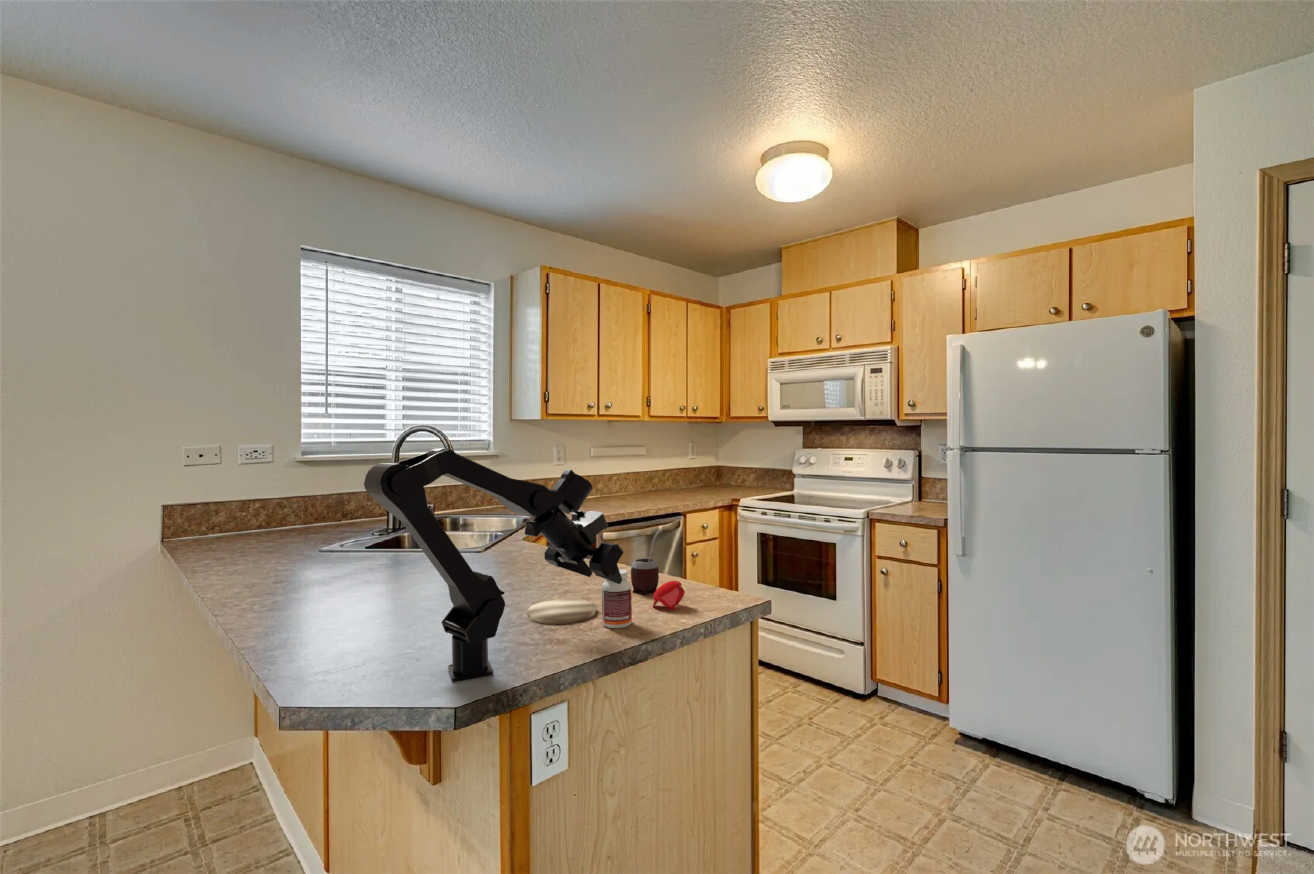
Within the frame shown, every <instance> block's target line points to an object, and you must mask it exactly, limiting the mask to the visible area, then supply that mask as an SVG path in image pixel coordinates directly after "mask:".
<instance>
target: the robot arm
mask: <svg viewBox="0 0 1314 874" xmlns="http://www.w3.org/2000/svg"><path fill="white" fill-rule="evenodd" d="M442 476H443V477H447V478H449V479H451V480H454V481H456V482H458V483H461V484H463V485H466V486H468V487H470V488H473V489H475V490H477V491H479V492H482V493H485V494H487V495H489V496H492V497H494V498H495V499H496V501H498V502H499V503H500V504H501V505H502V506H504V507H505V508H507V509H508V510H510V511H511V512H513V513H514V514H518V515H524V516H532V519H531V520H526V521H525V528H524V535H525V536H530V537H535V538H536V537H537V538H538V536H539V535H541V536H542V537H544V539H545V540H547V542H548V544H547V546H548V547H547V548H546V549H545V551H544V554H543V555H544V560H545V561H546V562H547V563H548V564H549V565H552V566H555V567H557V568H561V569H562V570H567V571H569V572H573V573H576V574H579V575H581V576H585V577H588V578H591V577H592V575H593V574H594V575H595V576H597V577H599V578H600V579H604V580H609V581H612V582H614V583H617V584H620V583H621V582H622V577H621V574H620V571H619V569H620V568H619V567H618V562H619V560H620V559H621V558H622V557H623V554H624V549H623V548H622V547H621V546H620V544H618V543H614V542H601V543H600V544H599V545H598V547H596V546H592V545H594V544H595V543H596V541H597V537H595V536H597V535H598V534H600V533H601V532H602V531H604V530H606V529H608V527H609V524H608V523H607V520H606V517H605V515H604V512H602V511H597V510H596V511H595V510H591V511H585V512H584V511H583V510H580V509H581V507H582V506H583V504H584V502H585V501H586V500H587V498H588V497H589V496H590V494H591V492H592V491H593V489H594V488H593V487H594V486H593V485H592V483H591V482H590V481H589V480H588V479H586V478H584V477H583V476H581V475H579V474H578V473H575V472H574V471H573V469H565V470H564V471H563V472H562V474H561V475H560V477H559V479H558V480H557V481H556V483H555V484H554V485H553V487H552V488H551V489H550V488H548V487H547V486H545V484H544V485H543V484H540V483H536V482H532V481H526V480H521V479H516V478H512V477H509V476H507V475H504V474H502V473H500V472H499V471H496V470H493V469H491V468H489V467H487V466H484V465H482V464H481V463H478V462H476V461H474V460H471V459H470V458H467V457H465V456H464V455H463V456H462V455H460V454H458V453H457V452H455V451H454V450H453V449H451V448H439V447H438V448H432V449H430V450H428V451H426V452H423V453H422V454H418V455H415V456H412V457H409V458H406V459H402V460H399V461H397V462H395V463H393V462H392V463H391V462H389V463H388V462H383V463H377V464H375V465H373V466H372V467H371V468H370V469H369V470H368V471H367V472H366V475H365V479H364V482H363V486H364V489H365V491H366V493H367V495H369V497H370V498H372V499H373V500H375V502H376V503H377V504H378V505H380V506H381V507H382V508H383V509H385V510H386V511H387V512H389V513H390V514H391V515H393V517H395V518H397V520H399V521H400V522H401V523H402V524H403V526H404V527H405V529H406V530H407V531H408V533H409V534H410V536H411V537H412V538H413V540H414V541H415V543H416V544H417V545H418V547H419V548H420V549H421V550H422V552H423V553H424V554H425V556H426V558H427V559H428V560H429V561H430V563H431V564H432V566H433V567H434V568H435V570H436V571H437V572H438V573H439V575H440V577H441V578H442V579H443V580H444V582H445V583H446V585H447V587H448V591H449V594H448V595H449V599H450V602H451V604H452V607H451V609H450V610H449V612H448V613H447V614H446V616H445V617H444V618H443V619H442V621H441V625H442V629H443V631H444V632H445V633H446V634H450V635H451V648H452V649H451V650H452V652H451V655H452V656H451V658H452V659H451V661H452V663H450V664H448V666H447V669H448V672H449V675H450V679H451V681H453V682H454V681H462V680H467V679H473V678H478V677H484V676H489V675H493V674H494V669H493V667H492V664H491V663H490V661H489V641H488V640H489V639H492V638H494V637H496V635H497V631H498V628H499V624H500V621H501V618H502V617H503V613H504V610H505V607H506V601H505V599H504V596H503V595H505V591H503V590H501V588H499V586H498V584H497V582H496V580H495V578H494V577H493V576H492V575H490V574H487V573H483V572H480V571H479V572H478V571H475V570H474V571H473V569H472V567H470V565H469V563H468V562H467V561H466V559H465V558H464V556H463V555H462V553H461V552H460V551H459V549H458V548H457V547H456V545H455V544H454V542H453V541H452V539H451V537H450V536H449V535H448V533H447V532H446V530H445V529H444V528H443V527H442V525H441V523H440V521H439V520H438V519H437V518H436V517H435V515H434V514H433V511H431V509H430V507H429V505H428V498H427V493H426V490H425V487H426V486H428V485H430V484H432V483H434V482H435V481H437V480H438V479H440V478H441V477H442ZM567 514H569V515H570V514H571V519H570V518H569V517H568V515H567ZM585 559H587V560H589V561H588V564H587V562H586V561H585Z"/></svg>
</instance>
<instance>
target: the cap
mask: <svg viewBox="0 0 1314 874" xmlns="http://www.w3.org/2000/svg"><path fill="white" fill-rule="evenodd" d="M685 593H686V591H685V589H684V587H683V586H682V582H681V581H679V580H670V581H667V582H664V583H663V584H662V585H660V586H659V587H657V590H656V591H655V593H653V604H652V608H654V607H655V606H656V605H657V603H658V602H659V603H661V604H662V605H663V606H664V607H667V609H669V611H675V610H676V606H679V604H680V602H681V600H682V599H683V597H684V596H685Z"/></svg>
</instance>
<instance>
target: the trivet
mask: <svg viewBox="0 0 1314 874" xmlns="http://www.w3.org/2000/svg"><path fill="white" fill-rule="evenodd" d="M596 614H597V604H596V603H594V602H592V601H591V600H587V599H582V598H581V599H578V598H560V599H550V600H545V601H540V602H537V603H534V604H533V605H531V606H529V607H528V609H527V618H528V619H529V620H530V621H531V622H534V623H535V622H536V623H538V624H539V623H540V624H546V625H560V624H561V625H563V624H572V623H578V622H582V621H586V620H589V619H590V618H592V617H594V616H595V615H596Z"/></svg>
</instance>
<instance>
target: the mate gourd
mask: <svg viewBox="0 0 1314 874" xmlns="http://www.w3.org/2000/svg"><path fill="white" fill-rule="evenodd" d="M660 532H661V529H659V530H658V531H657V532H656V533H655V534H654V536H653V539H651V540H652V541H651V548H650V553H649V557H648V558H638V559H635V560H634V561H633V562H632V564H631V568H630V581H631V582H630V583H631V587H632V589H633V590H632V593H633V594H639V593H640V594H642V596H647V594H648V593H649V594H651V593H653V594H654V593H655V591H656V590H657V589H658V585H659V582H660V581H659V577H660V575H659V566H658V565H659V564H658V563H657V561H656V560H655V559H652V556H653V552H654V546H655V543H656V539H657V537H658V535H659V533H660Z"/></svg>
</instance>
